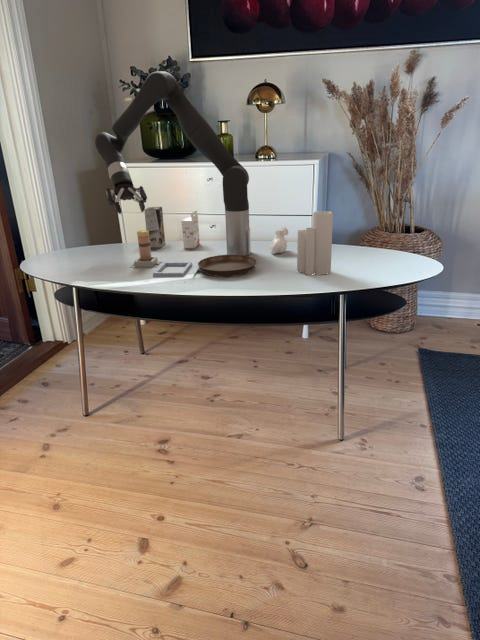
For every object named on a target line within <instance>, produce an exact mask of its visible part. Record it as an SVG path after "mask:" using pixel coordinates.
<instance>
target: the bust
mask: <svg viewBox="0 0 480 640" xmlns="http://www.w3.org/2000/svg"><path fill="white" fill-rule="evenodd" d="M275 235H276V236H275V237H274V238H273V239H272V241H271V243H270V246H269V251H270V254H272V255H275V254H283V253H285V251H286V249H287V248H288V244H287V243H288V241H287V239H286V238H285V236H288V235H289V229H288V228H287V227H286V226H284V227H283V226H280V227H278V228H277V229H276V231H275Z"/></svg>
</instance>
